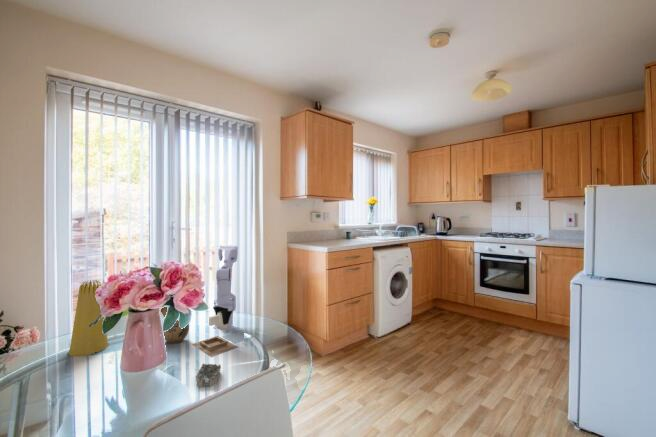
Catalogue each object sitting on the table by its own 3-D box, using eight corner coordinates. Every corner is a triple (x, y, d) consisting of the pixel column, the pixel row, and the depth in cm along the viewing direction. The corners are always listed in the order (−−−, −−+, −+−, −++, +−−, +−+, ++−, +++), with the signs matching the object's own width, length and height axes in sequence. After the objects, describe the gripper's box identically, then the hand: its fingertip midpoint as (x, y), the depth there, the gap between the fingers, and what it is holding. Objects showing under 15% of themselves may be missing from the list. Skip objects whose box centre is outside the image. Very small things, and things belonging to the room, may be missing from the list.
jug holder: (191, 345, 134) (191, 340, 134) (217, 337, 144) (217, 332, 144) (211, 358, 122) (211, 353, 122) (238, 348, 133) (238, 343, 132)
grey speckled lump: (215, 387, 103) (216, 376, 103) (193, 388, 102) (193, 377, 102) (222, 371, 113) (222, 360, 113) (202, 372, 112) (202, 361, 112)
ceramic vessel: (196, 338, 142) (197, 287, 142) (188, 346, 133) (190, 292, 133) (162, 338, 141) (163, 286, 141) (151, 346, 132) (153, 291, 132)
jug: (224, 324, 141) (225, 310, 141) (230, 327, 137) (230, 312, 137) (207, 329, 134) (207, 314, 134) (212, 332, 131) (212, 317, 131)
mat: (222, 337, 143) (222, 336, 143) (241, 331, 152) (241, 330, 152) (234, 344, 136) (234, 343, 136) (254, 337, 145) (254, 336, 145)
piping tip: (115, 345, 132) (116, 279, 131) (79, 358, 119) (80, 286, 119) (98, 339, 137) (99, 276, 137) (61, 351, 125) (63, 282, 125)
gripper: (208, 292, 139) (207, 320, 139) (223, 298, 129) (222, 329, 129) (222, 289, 144) (221, 316, 144) (237, 295, 134) (236, 325, 135)
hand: (222, 322), depth 137 cm, fingers closed on jug, 5 cm apart
